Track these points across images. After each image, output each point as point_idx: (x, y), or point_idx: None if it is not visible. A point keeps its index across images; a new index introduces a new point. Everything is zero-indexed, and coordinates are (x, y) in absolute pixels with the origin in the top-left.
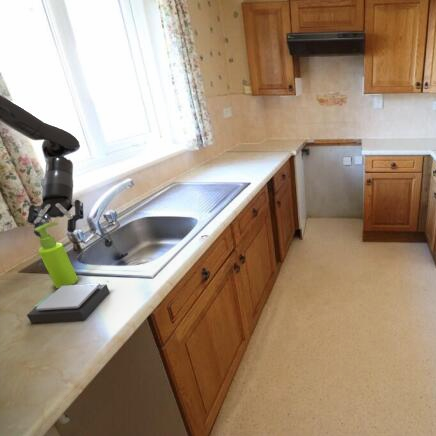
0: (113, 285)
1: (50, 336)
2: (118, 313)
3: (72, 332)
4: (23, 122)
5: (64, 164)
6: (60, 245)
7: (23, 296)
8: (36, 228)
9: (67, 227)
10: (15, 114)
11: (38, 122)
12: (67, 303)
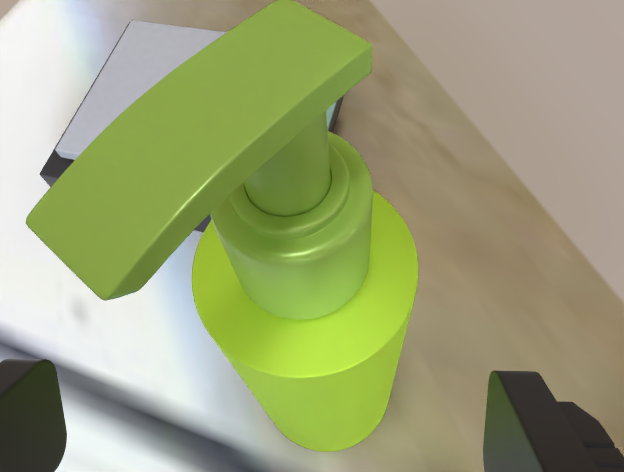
0: (50, 260)
1: (241, 15)
2: (29, 64)
3: (172, 16)
4: None
5: None
6: (200, 262)
7: (531, 309)
8: (327, 38)
9: (13, 384)
10: None
11: None
12: (177, 43)
